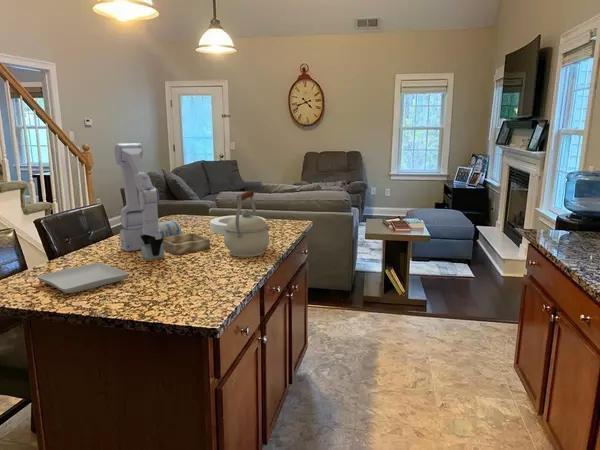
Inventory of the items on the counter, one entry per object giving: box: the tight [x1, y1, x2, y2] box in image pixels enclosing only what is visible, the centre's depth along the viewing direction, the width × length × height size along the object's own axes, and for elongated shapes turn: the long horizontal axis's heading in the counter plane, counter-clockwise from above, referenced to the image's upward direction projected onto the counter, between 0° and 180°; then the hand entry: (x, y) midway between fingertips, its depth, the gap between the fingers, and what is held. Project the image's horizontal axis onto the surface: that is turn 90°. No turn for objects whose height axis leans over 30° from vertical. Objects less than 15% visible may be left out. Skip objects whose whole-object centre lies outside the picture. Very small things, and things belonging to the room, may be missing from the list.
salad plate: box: [37, 261, 129, 294], centre depth 146 cm, size 21×21×3 cm
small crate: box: [140, 244, 165, 261], centre depth 175 cm, size 7×5×5 cm
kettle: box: [223, 190, 270, 258], centre depth 181 cm, size 25×18×25 cm
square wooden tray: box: [162, 232, 211, 256], centre depth 190 cm, size 16×16×4 cm
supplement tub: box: [158, 219, 183, 238], centre depth 197 cm, size 10×10×15 cm
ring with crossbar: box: [209, 214, 266, 235], centre depth 228 cm, size 28×28×5 cm
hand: (152, 253), depth 176 cm, fingers open, 6 cm apart
